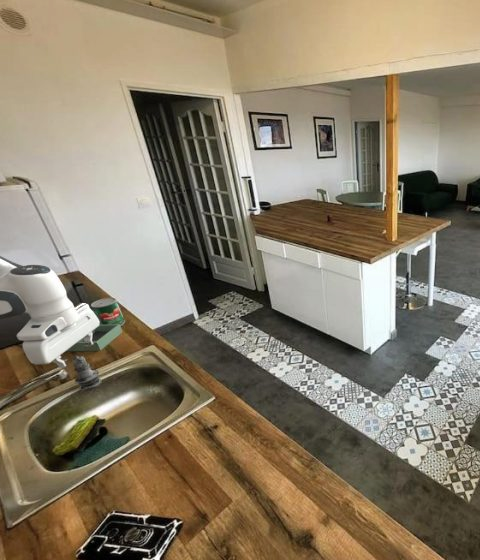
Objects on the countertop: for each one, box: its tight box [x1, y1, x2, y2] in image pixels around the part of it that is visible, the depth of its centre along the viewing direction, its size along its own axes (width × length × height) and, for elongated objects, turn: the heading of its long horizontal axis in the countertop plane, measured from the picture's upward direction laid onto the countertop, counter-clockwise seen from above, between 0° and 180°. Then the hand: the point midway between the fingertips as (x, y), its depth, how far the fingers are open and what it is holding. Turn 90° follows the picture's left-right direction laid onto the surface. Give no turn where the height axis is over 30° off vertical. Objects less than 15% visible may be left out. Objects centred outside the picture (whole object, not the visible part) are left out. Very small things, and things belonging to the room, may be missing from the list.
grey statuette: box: [71, 355, 103, 392], centre depth 98 cm, size 6×6×12 cm
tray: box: [65, 324, 123, 352], centre depth 120 cm, size 12×20×4 cm, turn 95°
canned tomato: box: [90, 297, 126, 326], centre depth 129 cm, size 8×8×11 cm
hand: (77, 355), depth 96 cm, fingers open, 8 cm apart
